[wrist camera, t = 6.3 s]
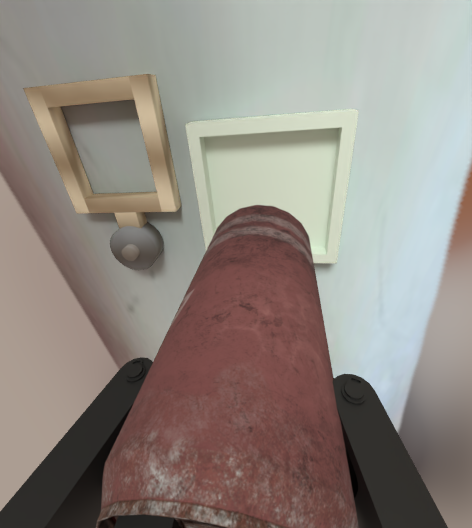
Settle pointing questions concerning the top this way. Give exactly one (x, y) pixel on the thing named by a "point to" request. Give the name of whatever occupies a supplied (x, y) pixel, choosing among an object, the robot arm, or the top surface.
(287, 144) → the tray
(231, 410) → the can
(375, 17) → the top surface
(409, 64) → the top surface
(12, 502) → the robot arm
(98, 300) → the top surface
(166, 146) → the collar block
